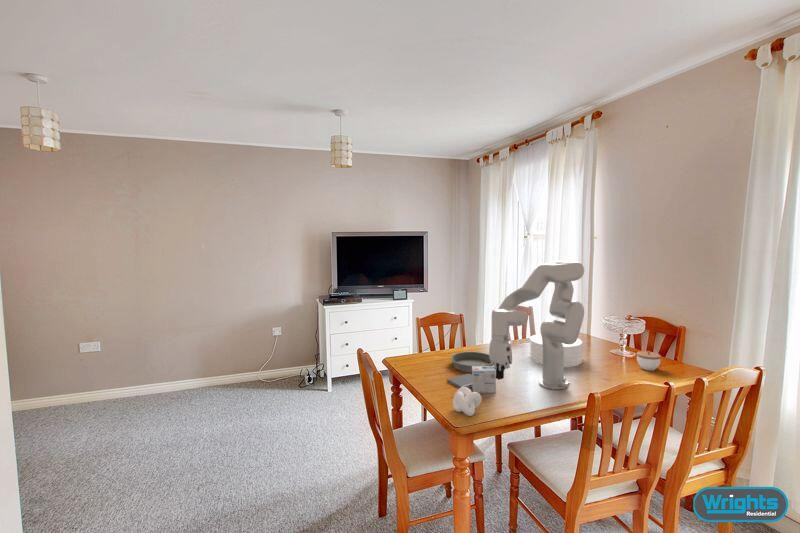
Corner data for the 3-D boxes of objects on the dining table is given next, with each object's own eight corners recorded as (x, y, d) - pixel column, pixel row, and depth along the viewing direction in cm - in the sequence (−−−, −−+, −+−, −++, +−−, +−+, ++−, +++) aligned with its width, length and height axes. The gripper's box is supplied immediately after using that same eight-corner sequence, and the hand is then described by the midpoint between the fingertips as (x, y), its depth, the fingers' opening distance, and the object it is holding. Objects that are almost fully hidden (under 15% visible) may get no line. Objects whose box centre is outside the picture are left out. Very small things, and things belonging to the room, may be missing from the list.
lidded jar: (636, 363, 208) (636, 347, 208) (659, 367, 203) (660, 349, 202) (636, 370, 199) (636, 352, 198) (661, 373, 194) (661, 355, 193)
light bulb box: (494, 387, 181) (494, 365, 180) (496, 393, 174) (496, 370, 173) (471, 387, 182) (471, 365, 181) (472, 393, 175) (472, 370, 174)
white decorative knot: (476, 404, 164) (476, 383, 163) (486, 416, 152) (486, 395, 151) (450, 406, 162) (450, 386, 161) (459, 419, 150) (459, 397, 150)
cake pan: (480, 377, 195) (480, 368, 194) (442, 366, 212) (441, 359, 211) (503, 365, 212) (503, 357, 212) (466, 356, 229) (466, 348, 229)
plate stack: (549, 349, 240) (549, 331, 239) (592, 360, 216) (592, 340, 215) (519, 357, 224) (519, 338, 223) (562, 371, 201) (562, 349, 200)
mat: (484, 383, 186) (484, 380, 186) (462, 389, 179) (462, 386, 179) (468, 375, 197) (468, 373, 197) (447, 381, 190) (447, 378, 190)
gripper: (519, 340, 162) (518, 382, 163) (494, 333, 175) (494, 371, 176) (506, 342, 158) (505, 385, 159) (482, 335, 171) (481, 374, 172)
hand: (499, 378), depth 168 cm, fingers closed
